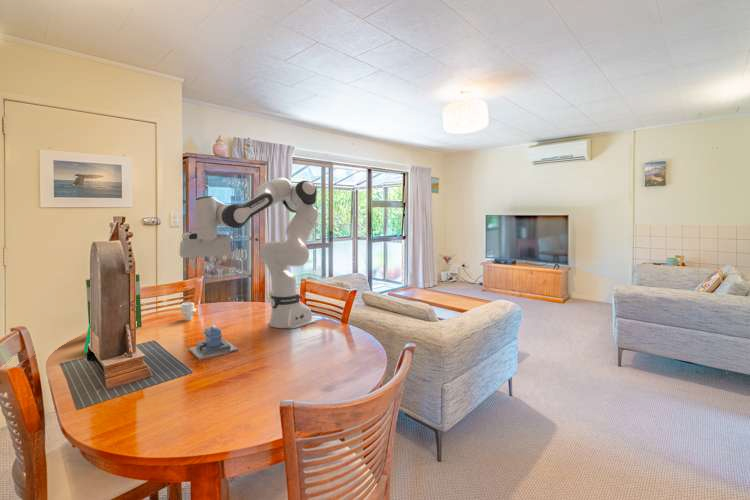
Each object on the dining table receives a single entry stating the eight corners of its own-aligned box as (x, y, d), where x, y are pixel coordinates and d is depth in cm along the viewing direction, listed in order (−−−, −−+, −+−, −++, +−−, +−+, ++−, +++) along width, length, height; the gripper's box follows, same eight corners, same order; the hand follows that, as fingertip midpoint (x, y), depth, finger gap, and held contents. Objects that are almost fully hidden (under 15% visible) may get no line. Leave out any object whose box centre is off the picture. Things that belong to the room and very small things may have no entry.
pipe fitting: (188, 322, 177) (188, 305, 176) (177, 320, 179) (177, 304, 179) (199, 318, 183) (198, 302, 182) (188, 316, 185) (187, 301, 184)
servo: (215, 344, 146) (214, 321, 145) (222, 350, 140) (222, 327, 139) (204, 346, 144) (203, 323, 143) (211, 352, 137) (210, 329, 136)
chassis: (226, 342, 151) (226, 336, 151) (237, 350, 142) (237, 344, 142) (189, 350, 142) (189, 343, 141) (198, 359, 133) (198, 353, 132)
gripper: (227, 233, 166) (228, 264, 168) (177, 234, 153) (178, 268, 154) (233, 234, 162) (233, 265, 163) (181, 235, 148) (183, 269, 150)
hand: (206, 266), depth 159 cm, fingers open, 8 cm apart
